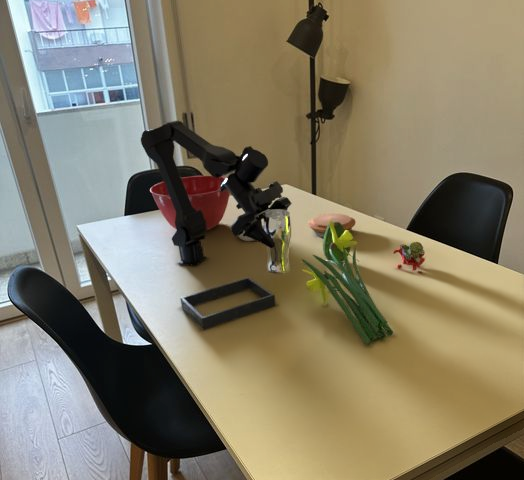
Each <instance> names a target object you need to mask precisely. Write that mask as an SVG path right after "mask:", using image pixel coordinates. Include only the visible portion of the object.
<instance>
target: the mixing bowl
mask: <svg viewBox="0 0 524 480" xmlns="http://www.w3.org/2000/svg"><path fill="white" fill-rule="evenodd" d="M181 179H182V182H183V184H184V187H185V189H186V192H187V194H188V197H189V200H190V202H191V205H192V207H193V208H195V209H196V210H197V211H199V210H201V211H202V213H203V216H204V219H205V221H206V222H207V223H206V226H207V230H206V231H210V230H212V229H214V228H215V227H216V226H217V225H218V224H219V223H221V221H222V220H223V217H224V215H225V213H226V211H227V207H228V203H229V200H230V195H231V193H230V192H229V191H228V190H226V191H223V192H221V181H222V180H225V179H227V177H224V176H222V177H219V178H215V177H213V176H212V175H192V176H183V177H181ZM149 192H150V193H151V195H152V197H153V200H154V202H155V204H156V206H157V208H158V209H159V211H160V213H161V215H162V216H163V217H164V219H165V220H166V221H167V223H168V224H169V225H170V226H171V227H172V228H173V229H175V230H177V229H176V226H175V218H176V211H175V208H174V206H173V203H172V201H171V198H170V196H169V193H168V191H167V188H166V186H165V183H164V181H161V182H158V183H156V184H154V185H152V186H151V187H150V188H149Z"/></svg>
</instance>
